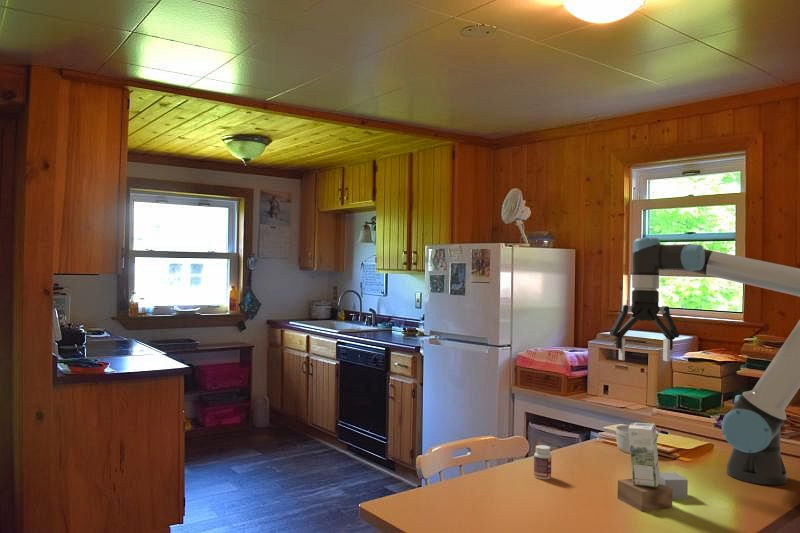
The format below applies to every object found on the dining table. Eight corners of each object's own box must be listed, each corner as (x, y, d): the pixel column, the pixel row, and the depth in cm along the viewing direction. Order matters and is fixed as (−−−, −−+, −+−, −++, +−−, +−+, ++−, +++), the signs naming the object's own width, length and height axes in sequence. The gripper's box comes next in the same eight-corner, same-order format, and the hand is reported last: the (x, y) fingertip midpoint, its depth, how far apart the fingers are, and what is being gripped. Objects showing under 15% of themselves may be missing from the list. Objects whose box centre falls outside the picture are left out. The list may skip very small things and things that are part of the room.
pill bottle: (551, 480, 171) (552, 449, 171) (533, 478, 172) (534, 448, 172) (550, 475, 175) (551, 445, 176) (533, 473, 176) (534, 444, 176)
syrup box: (660, 480, 156) (655, 422, 156) (657, 488, 151) (652, 428, 151) (636, 478, 159) (631, 421, 159) (632, 486, 154) (627, 427, 154)
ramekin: (661, 450, 206) (661, 428, 206) (653, 459, 195) (654, 436, 195) (620, 443, 213) (620, 423, 213) (610, 451, 202) (610, 430, 202)
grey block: (674, 491, 165) (675, 472, 165) (687, 499, 159) (687, 479, 159) (653, 491, 164) (653, 472, 165) (664, 499, 158) (665, 479, 159)
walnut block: (646, 496, 161) (647, 477, 161) (672, 509, 152) (672, 488, 152) (617, 499, 158) (617, 480, 158) (641, 512, 149) (642, 491, 149)
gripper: (679, 290, 191) (678, 359, 191) (599, 288, 190) (598, 357, 190) (692, 290, 184) (691, 363, 183) (609, 288, 183) (607, 361, 182)
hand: (643, 360), depth 186 cm, fingers open, 13 cm apart
